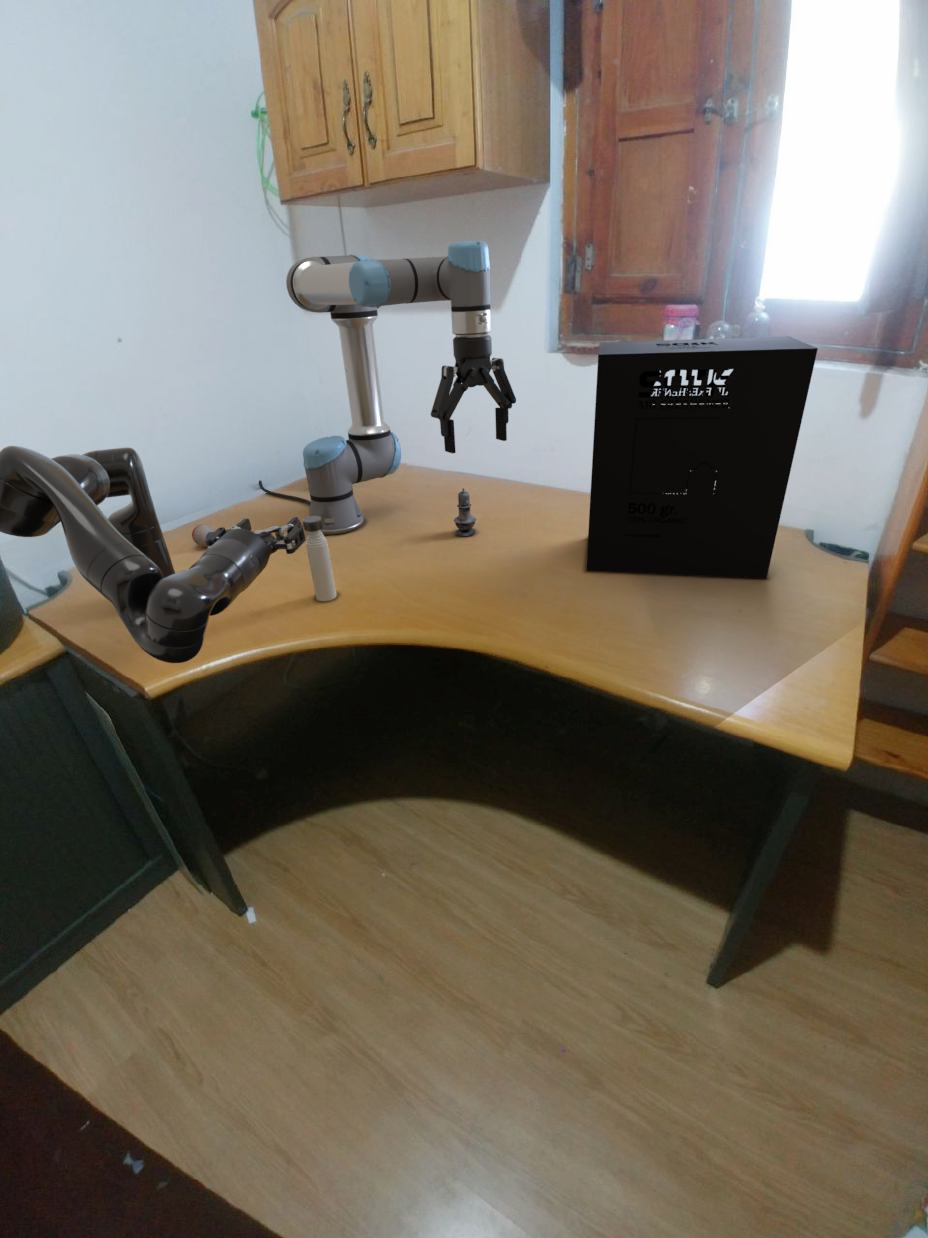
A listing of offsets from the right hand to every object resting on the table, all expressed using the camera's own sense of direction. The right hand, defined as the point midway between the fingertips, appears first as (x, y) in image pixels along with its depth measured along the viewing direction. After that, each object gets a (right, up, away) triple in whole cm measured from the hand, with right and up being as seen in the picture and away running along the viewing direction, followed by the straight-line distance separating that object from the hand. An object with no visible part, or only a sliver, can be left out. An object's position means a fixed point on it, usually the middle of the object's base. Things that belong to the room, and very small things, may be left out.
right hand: (476, 445), depth 127 cm
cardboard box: (+45, -22, +13) cm, 52 cm away
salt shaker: (-2, -14, +32) cm, 35 cm away
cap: (-34, -16, -4) cm, 38 cm away
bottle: (-33, -32, +5) cm, 46 cm away
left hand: (-35, -20, -26) cm, 48 cm away
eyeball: (-71, -17, +33) cm, 80 cm away
